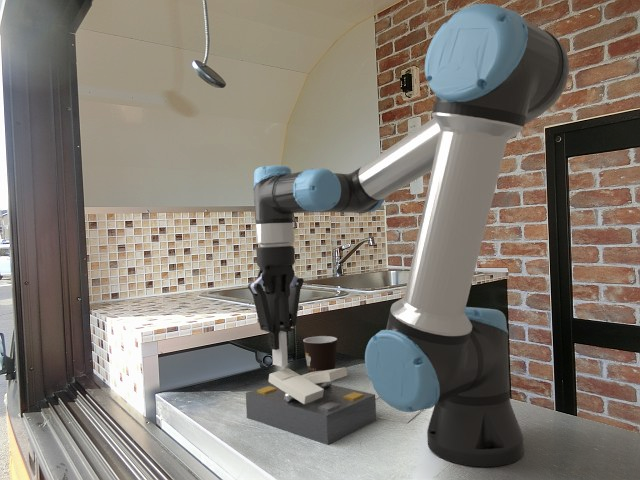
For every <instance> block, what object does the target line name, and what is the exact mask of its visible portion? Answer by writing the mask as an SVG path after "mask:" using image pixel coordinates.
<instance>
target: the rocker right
mask: <svg viewBox="0 0 640 480" xmlns="http://www.w3.org/2000/svg"><path fill="white" fill-rule="evenodd" d="M300 376H302V377H304V378H305V379H307V380H309V381H311V382H312V383H314V384H315V383H322V382H329V381H331V382H333V381H336V380H338V379H341V378H343V377H346V376H348V372H347V368H346V367H340V368H335V369H332V370H326V371H316V372H310V373H308V372H307V373H304V374H301V375H300Z"/></svg>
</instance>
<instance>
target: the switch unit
mask: <svg viewBox="0 0 640 480" xmlns="http://www.w3.org/2000/svg"><path fill="white" fill-rule="evenodd" d="M332 382H333V381H329V382H322V383H315V384H316V385H317V386H319V387H321V388H322V389H324V392H323V397H322V398H319V399H317V400H314V401H312V402H309V403H306V404H303V403H301V402H300V401H298V400H296V399H295V398H293V397H292V396H290V395H289V394H287V393H285V392H284V391H282V390H281V389H279V388H278V387H276V386H275V385H273V384H271V383H270V384H269V385H266V386H262V387H260V388H256V389H254V390H250V391H248V392H245V406H246V418H247V419H250V420H253V421H256V422H259V423H261V424H264V425H268V426H271V427H273V428H276V429H280V430H283V431H286V432H288V433H292V434H294V435H298V436H300V437H303V438H306V439H310V440H312V441H315V442H318V443H321V444H324V445H328V446H329V445H330V444H332V443H335V442H337V441H338V440H340V439H342V438H344V437H346V436H348V435H350V434H352V433H354V432H356V431H358V430H360V429H362V428H365V427H366V426H369V425H370V424H372V423H374V422H376V421H377V418H376V416H377V405H376V404H377V403H376V400H377V399H375V398H376V394H374V393H370V392H365V391H361V390H356V389H351V388H348V387H343V386H338V385H334V384H333V383H332Z"/></svg>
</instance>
